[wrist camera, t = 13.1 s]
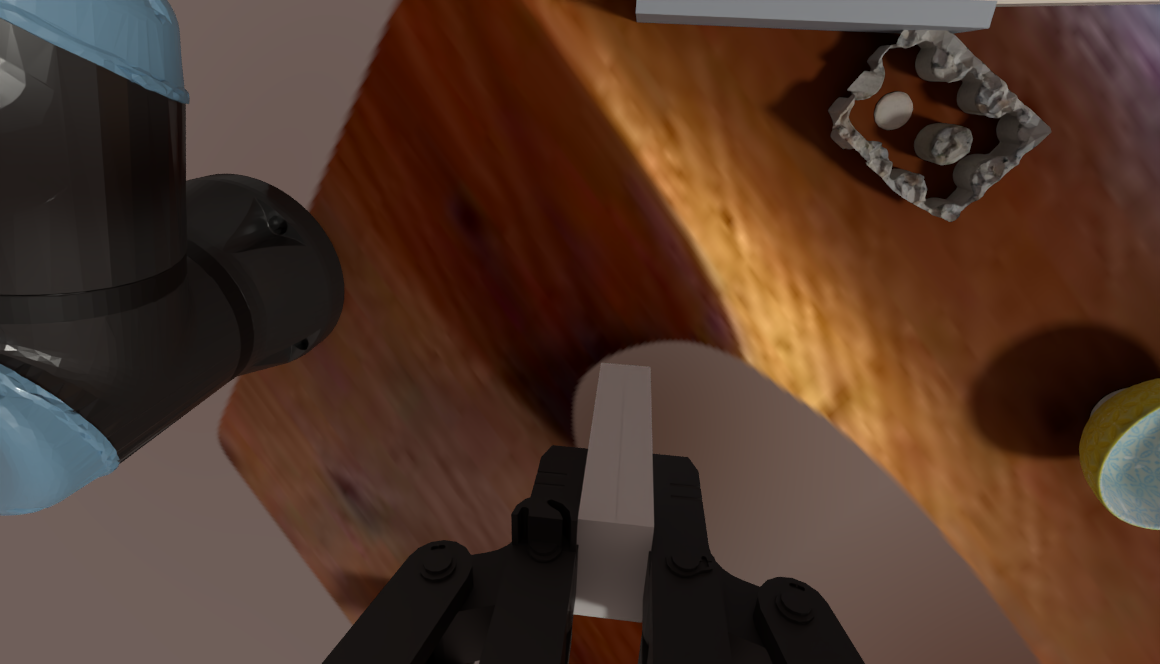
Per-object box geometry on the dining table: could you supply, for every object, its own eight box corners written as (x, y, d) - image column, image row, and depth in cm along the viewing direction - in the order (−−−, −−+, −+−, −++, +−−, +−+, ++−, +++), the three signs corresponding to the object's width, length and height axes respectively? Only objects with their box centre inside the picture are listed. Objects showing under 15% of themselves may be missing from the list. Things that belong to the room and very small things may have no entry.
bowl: (1255, 370, 39) (1358, 419, 33) (1140, 490, 44) (1213, 550, 38) (1105, 323, 38) (1183, 365, 33) (1006, 449, 43) (1059, 504, 38)
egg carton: (807, 122, 36) (825, 127, 32) (901, 14, 33) (934, 5, 29) (922, 222, 37) (953, 238, 34) (1022, 127, 34) (1068, 133, 31)
